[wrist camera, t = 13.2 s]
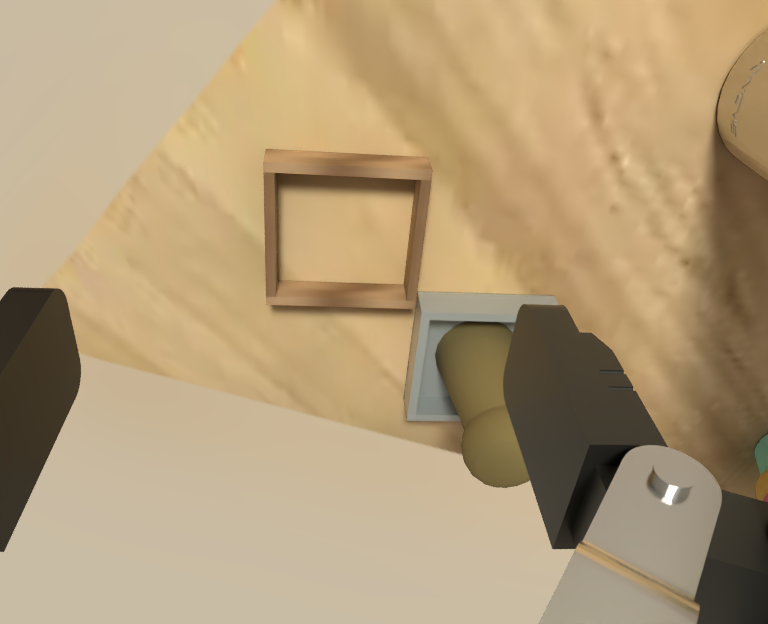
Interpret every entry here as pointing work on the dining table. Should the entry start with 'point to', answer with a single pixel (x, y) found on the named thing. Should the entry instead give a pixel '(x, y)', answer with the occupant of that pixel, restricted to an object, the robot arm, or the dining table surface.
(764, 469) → the cupcake
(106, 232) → the dining table surface
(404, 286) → the walnut frame
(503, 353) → the olive pawn
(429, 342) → the grey tray
